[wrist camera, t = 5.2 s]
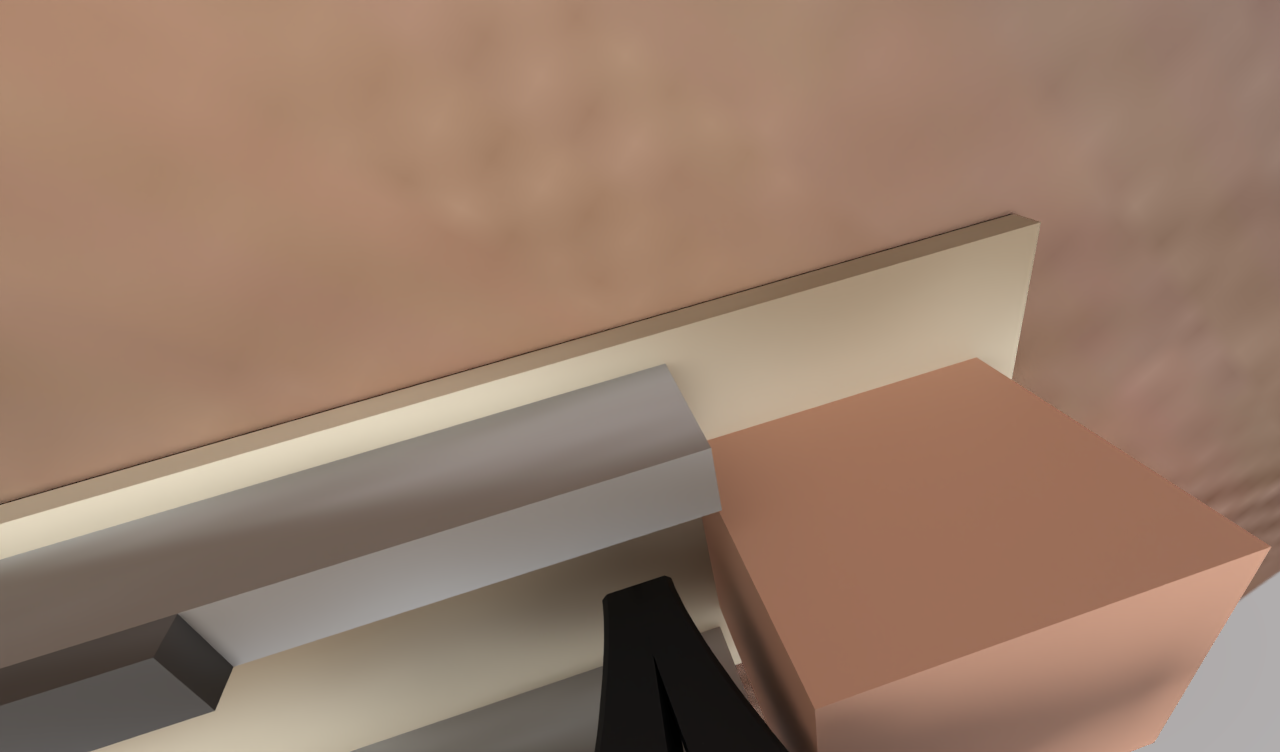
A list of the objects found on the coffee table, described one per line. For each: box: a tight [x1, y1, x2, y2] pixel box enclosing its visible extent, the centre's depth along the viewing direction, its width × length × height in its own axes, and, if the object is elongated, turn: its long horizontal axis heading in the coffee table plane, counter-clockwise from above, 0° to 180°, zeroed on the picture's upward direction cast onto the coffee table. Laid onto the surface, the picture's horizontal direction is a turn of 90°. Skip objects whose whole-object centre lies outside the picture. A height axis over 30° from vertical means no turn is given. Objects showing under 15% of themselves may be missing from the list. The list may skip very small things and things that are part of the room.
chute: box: [0, 214, 1041, 752], centre depth 11 cm, size 10×21×4 cm, turn 102°
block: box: [702, 357, 1271, 752], centre depth 10 cm, size 5×6×5 cm
